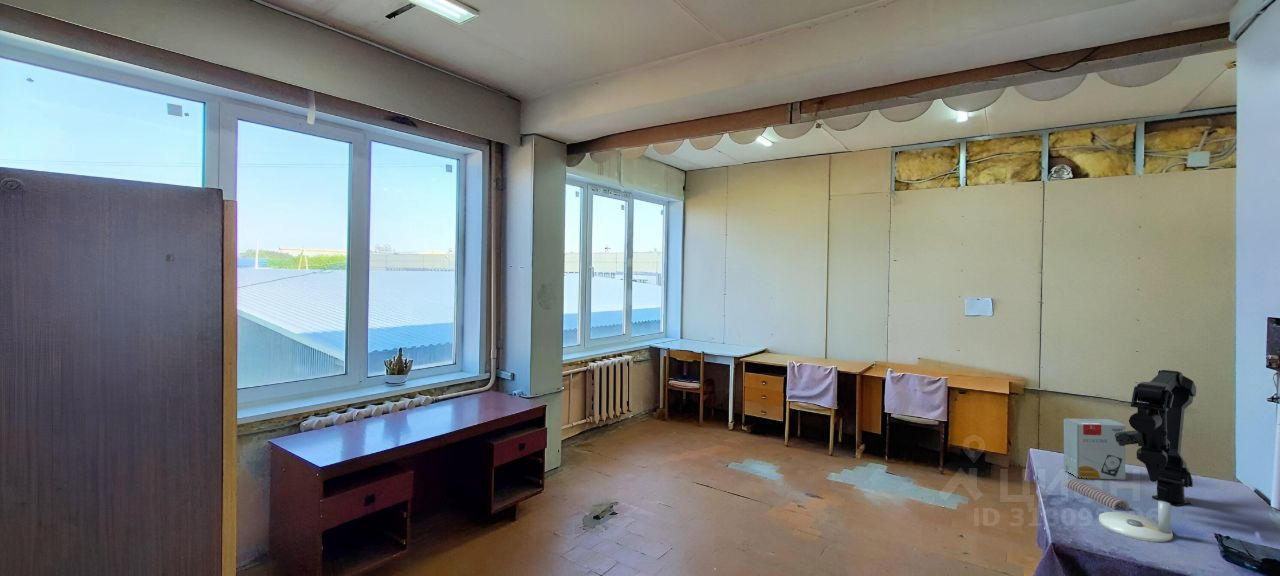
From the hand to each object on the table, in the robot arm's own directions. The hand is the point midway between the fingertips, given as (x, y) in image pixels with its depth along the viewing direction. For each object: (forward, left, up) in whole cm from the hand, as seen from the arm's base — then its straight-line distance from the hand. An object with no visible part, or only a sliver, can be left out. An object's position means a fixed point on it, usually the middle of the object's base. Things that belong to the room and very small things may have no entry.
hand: (1154, 476), depth 153 cm
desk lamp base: (+17, +6, -11) cm, 21 cm away
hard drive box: (-14, -28, -12) cm, 33 cm away
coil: (+7, -12, -12) cm, 18 cm away
